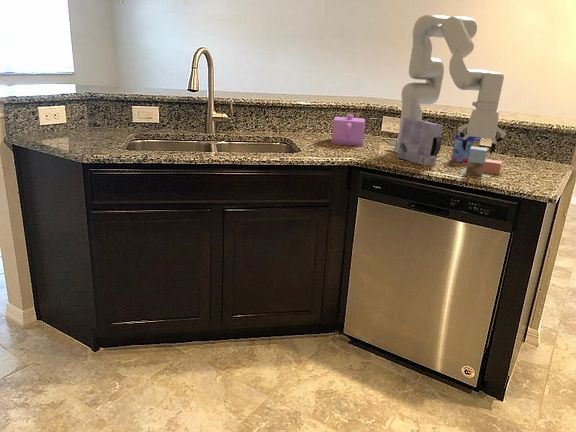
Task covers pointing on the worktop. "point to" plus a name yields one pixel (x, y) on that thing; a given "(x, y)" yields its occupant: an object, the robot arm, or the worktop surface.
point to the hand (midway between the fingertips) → (477, 151)
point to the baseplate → (475, 175)
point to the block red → (492, 166)
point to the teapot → (348, 130)
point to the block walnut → (475, 168)
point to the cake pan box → (420, 141)
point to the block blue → (477, 154)
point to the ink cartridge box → (458, 151)
